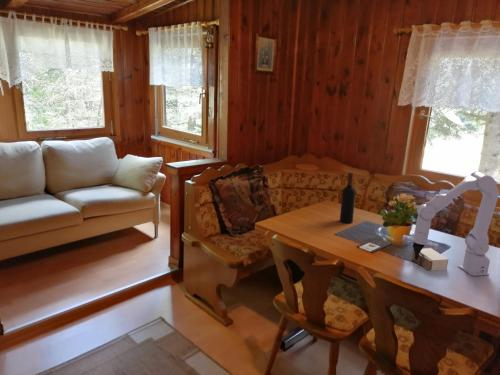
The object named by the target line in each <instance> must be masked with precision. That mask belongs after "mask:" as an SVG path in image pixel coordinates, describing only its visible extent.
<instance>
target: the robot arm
mask: <svg viewBox="0 0 500 375" xmlns="http://www.w3.org/2000/svg"><path fill="white" fill-rule="evenodd" d="M478 190H479V191H480V193H481V194H482V199H481V200H480V205H479V207H478V208H479V209H478V211H477V215H476V218H475V221H474V225H473V228H472V229H470V231H469V233H468V235H466V236H465V238H464V243H465V245H466V247H465V253H464V256H463V257H464V258H463V262H462V264H458V265H457V267H458V268H460V269H461V270H463V271H464V272H466V273H468V274H469V275H471V276H473V277H477V276H489V275H490V273H489V267H490V263H491V262H490V258H488V257H487V256H486V253H488V251H489V250H490V246H489V242H490V239H489V235H488V232H489V229H490V225H491V222H492V218H493V215H494V211H495V208H496V205H497V202H498V198H499V194H500V193H499V189H498V186H497V181H496V180H495V179H494V177H492V176H490V175H488V174H485V173H483V172H482V171H480V170H479V171H473V172H472V173H471V174H469V175H467V176H466V177H465V178H464V179H462V180H461V181H460V182H459V183H458V184H456V185H455V186H454V187H452V188H451V189H449V190H448V191H447V192H446V193H440V194H435V195H434V197H433V198H432V199H430V200H429V201H425V204H424V203H423V204H420V205H419V206H418V207H417V208H416V213H417V217H416V218H417V219H416V223H415V227H414V234H413V236H412V235H411V236H410V235H407V234H404V235H402V239H401V240H402V241H406V242H410V243H413V244H412V248H413V250H414V252H415V259H416V260H417V259H418V257H419V253H420V252H421V250H422V249H424V247H427V248H432V249H433V250H435V251H436V250H438V246H439V244H438V243H436V242H435V243H434V242H432V241H430V240H429V234H430V230H431V224H432V219H434V218H435V217H436V214H437V213H438V212H440V211H441V210H443V209H445V208H446V207H447V206H449V205H450V203H451V200H454V199H455V198H456V197H458V196H460V195H462V194H464V193H465V192H467V191H478Z"/></svg>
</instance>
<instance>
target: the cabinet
mask: <svg viewBox="0 0 500 375" xmlns="http://www.w3.org/2000/svg"><path fill="white" fill-rule="evenodd" d="M420 254H421V255H422V256H423V259H421V261H422V265H421V266H422V267H423V268H424V269H426V270H427V271H445V270H448V264H449V258H448V257H446V256H444V255H443V254H441V253H439V252H438V251H436V250H435V249H434V248H431V247H427V248H423V249H422V250H421V252H420Z"/></svg>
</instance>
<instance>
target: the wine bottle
mask: <svg viewBox="0 0 500 375" xmlns="http://www.w3.org/2000/svg"><path fill="white" fill-rule="evenodd" d="M353 179H354V173H353V172H348V173H347V185H346V186H345V187H344V188H343V189H342V193H341V202H340V203H341V205H340V216H339V222H340V223H342V224H346V225H347V224H349V225H351V224H353V222H354V213H355V212H354V210H355V203H356V202H355V200H356V189H355V188H354V187H353Z"/></svg>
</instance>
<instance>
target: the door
mask: <svg viewBox="0 0 500 375" xmlns="http://www.w3.org/2000/svg"><path fill="white" fill-rule="evenodd" d="M412 250H413V251H412V256H411V257H412V258H411V259H412V260H413V261H414V262H415V263H416V264H417V265H418V266H422V261H421V259H423V256H422V255H421V254H420V253H419V257H418V259H417V260H416V259H415V252H414V249H412Z"/></svg>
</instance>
